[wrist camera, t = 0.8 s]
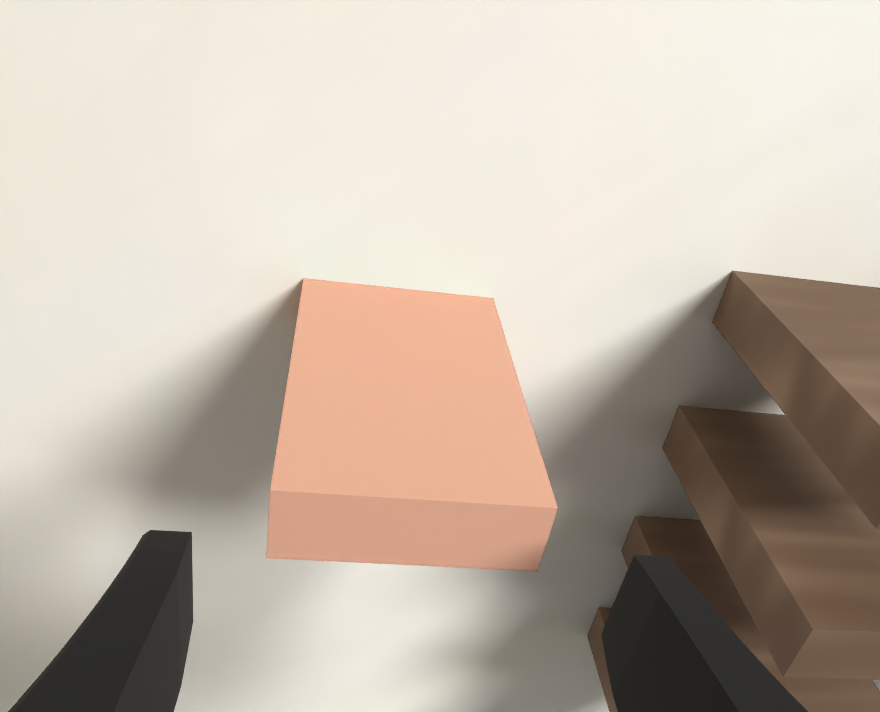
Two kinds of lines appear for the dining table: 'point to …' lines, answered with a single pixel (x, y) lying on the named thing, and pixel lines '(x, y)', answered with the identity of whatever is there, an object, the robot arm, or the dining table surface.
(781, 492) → the domino
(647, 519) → the domino
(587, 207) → the dining table surface
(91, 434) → the dining table surface
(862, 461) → the domino
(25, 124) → the dining table surface
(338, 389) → the salmon pink rectangular block
